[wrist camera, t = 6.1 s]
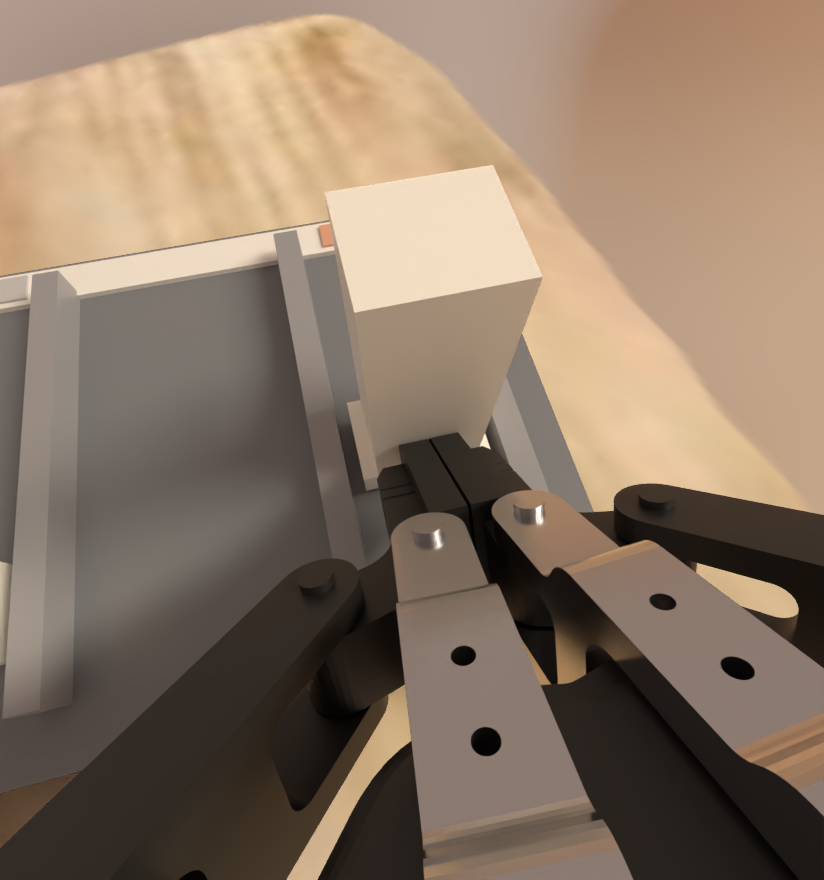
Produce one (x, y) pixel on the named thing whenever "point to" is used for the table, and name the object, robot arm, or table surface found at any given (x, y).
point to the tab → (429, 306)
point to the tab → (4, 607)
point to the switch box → (182, 470)
